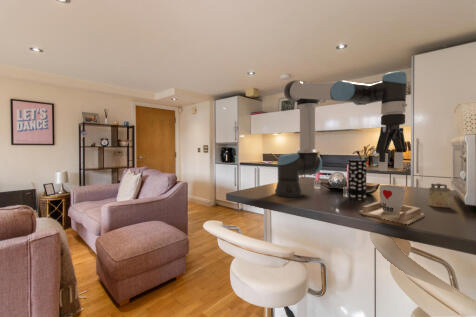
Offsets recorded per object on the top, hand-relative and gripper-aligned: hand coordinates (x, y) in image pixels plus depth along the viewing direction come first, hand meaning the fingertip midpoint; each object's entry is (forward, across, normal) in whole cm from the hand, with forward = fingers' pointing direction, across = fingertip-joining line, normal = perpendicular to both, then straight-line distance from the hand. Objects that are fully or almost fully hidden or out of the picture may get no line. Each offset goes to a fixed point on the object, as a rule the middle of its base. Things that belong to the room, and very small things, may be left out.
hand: (390, 169), depth 82 cm
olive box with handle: (+18, +30, -8) cm, 36 cm away
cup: (+17, 0, -1) cm, 17 cm away
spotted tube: (+18, +17, +21) cm, 33 cm away
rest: (+18, 0, -1) cm, 18 cm away
